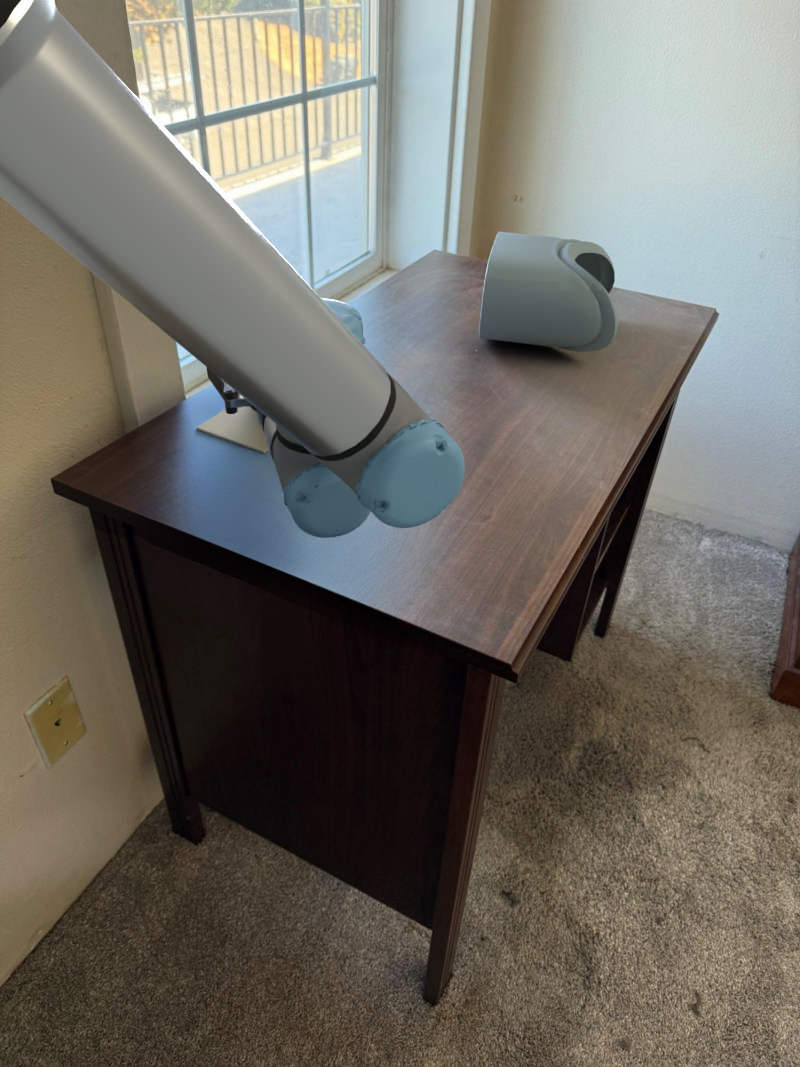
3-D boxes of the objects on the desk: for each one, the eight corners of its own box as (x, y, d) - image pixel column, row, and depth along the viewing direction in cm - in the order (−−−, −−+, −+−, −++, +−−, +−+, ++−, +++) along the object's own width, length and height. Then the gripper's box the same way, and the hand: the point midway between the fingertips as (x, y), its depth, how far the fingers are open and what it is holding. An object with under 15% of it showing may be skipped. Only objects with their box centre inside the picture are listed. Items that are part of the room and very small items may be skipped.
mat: (264, 453, 86) (263, 451, 85) (196, 429, 89) (196, 427, 89) (347, 391, 98) (347, 389, 98) (285, 372, 102) (284, 370, 101)
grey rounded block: (491, 300, 125) (500, 221, 117) (606, 313, 123) (624, 232, 115) (476, 355, 108) (485, 266, 100) (609, 371, 106) (629, 281, 98)
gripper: (198, 468, 75) (181, 369, 92) (398, 442, 80) (347, 353, 97) (187, 401, 70) (171, 310, 87) (401, 378, 76) (347, 297, 92)
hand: (264, 333), depth 92 cm, fingers open, 8 cm apart
